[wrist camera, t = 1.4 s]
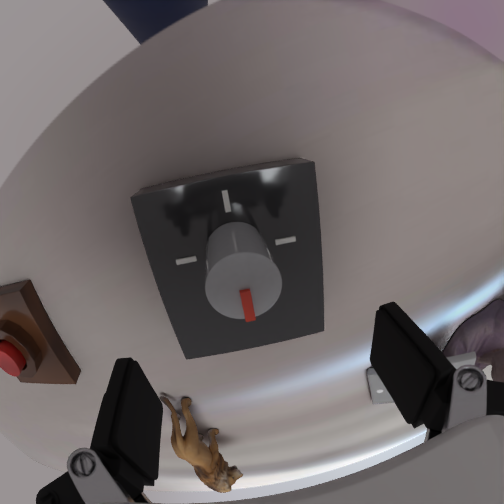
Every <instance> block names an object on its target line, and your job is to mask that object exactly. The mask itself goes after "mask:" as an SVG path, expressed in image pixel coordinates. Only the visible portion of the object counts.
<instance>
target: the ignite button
mask: <svg viewBox="0 0 504 504" xmlns="http://www.w3.org/2000/svg"><path fill="white" fill-rule="evenodd" d="M25 364H26V359H25V358H24V356H23V355H22V353H21V352H20V350H18V349H17V348H16V347H15V346H14V345H13V344H12V343H10V342H8V341H6V340H2V341H1V342H0V367H1V368H2V369H3V370H4V371H5V372H7V373H8V374H10V375H12V376H19V375H20V373H21V371H22V369H23V368H24V366H25Z"/></svg>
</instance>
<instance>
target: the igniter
mask: <svg viewBox="0 0 504 504" xmlns="http://www.w3.org/2000/svg"><path fill="white" fill-rule="evenodd" d="M2 340H6V341H8V342H10V343H12V344H13V345H14V346H15V347H16V348H17V349H18V350H20V352H21V353H22V355H23V356H24V358H25V359H26V364H25V366H24V368H23V369H22V371H21V373H20V375H19V376H16V377H17V378H18V379H19V381H20V382H25V383H44V384H76V382H77V380H78V377H79V375H80V372H81V370H80V368H79V367H78V365H77V364H76V362H75V361H74V359H73V358H72V356H71V355H70V353H69V351H68V350H67V348H66V347H65V345H64V343H63V342H62V340H61V338H60V337H59V335H58V333H57V332H56V330H55V328H54V326H53V324H52V323H51V321H50V319H49V317H48V315H47V313H46V311H45V310H44V308H43V306H42V304H41V302H40V300H39V298H38V296H37V294H36V291H35V289H34V287H33V285H32V283H31V281H30V280H26V281H22V282H18V283H14V284H10V285H6V286H2V287H0V342H1V341H2Z"/></svg>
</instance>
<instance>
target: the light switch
mask: <svg viewBox="0 0 504 504" xmlns="http://www.w3.org/2000/svg"><path fill="white" fill-rule="evenodd" d="M446 358H447V359H448V360H449V361H450V362H451V364H452V365H453V366H454V367H455V368H456V369H458V368H459V367H460V366H463V365H475V361H476V353H475V352H470V353H465V354H461V355H456V356H451V357H446ZM367 377H368V381H369V386H370V392H371V397H372V402H373V404H383V403H394V401H393V399H392V397H391V396H390V394H389V392H388V391H387V389H386V388H385V386H384V384H383V383H382V381H381V379H380V378H379V376H378V375H377V373H376V371H375V370H374V368H369V369H368V371H367Z"/></svg>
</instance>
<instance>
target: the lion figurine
mask: <svg viewBox="0 0 504 504" xmlns="http://www.w3.org/2000/svg"><path fill="white" fill-rule="evenodd" d="M160 399H161V401H162V402H163V403H164V404H165V405H167V406H168V407H169V409H170V410H171V412H172V414H171V418H172V423H173V429H172V436H171V444H172V447H173V449H174V451H175V453H176V455H177V456H178V457H179V458H181V459H184V460H186V461H187V462H189V463H190V464H191V465H192V466H193V467H194V470H195V472H196V475H197V476H198V477H199V478H200V480H201V481H202V482H204V484H205V485H207V486H208V487H209V488H211V489H213V490H214V491H217V492H220V493H222V492H223V493H225V492H229V491H231V485H233V484H234V483H235V481H236V480H237V479H239V478H240V477H242V476H243V474H242V473H241V472H240V470H238V469H237V467H236V466H232V467H228V462H226V461H224V459H223V457H222V455H221V454H220V453H219V451H218V444H217V441H216V439H215V435H217V434H218V433H219V430H218V429H210V430H209V431H208V437H209V440H210V445H209V447H207V446H206V445H205V443H203V442H202V439H203V435H201V434H198V430H197V427H196V424H195V421H194V419H193V417H192V415H191V413H190V411H189V408H188V407H189V406H190V405H191V402H192V401H191V399H189V398H184V399H182V400H181V406H182V412H183V415H184V416H185V419H186V426H187V427H186V432H185V435H184V436H182V434H181V430H180V424H179V420H180V415H179V414H177V413H176V411H175V409H174V407H173V406H172V404H171V403H170V401H169V400H168V398H166V397H164V396H161V397H160Z"/></svg>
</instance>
